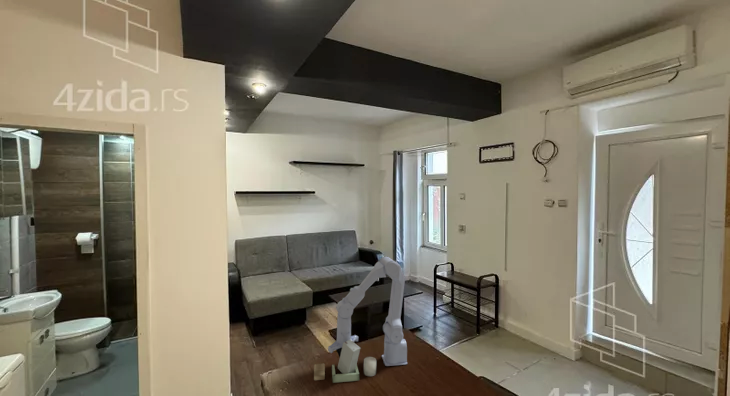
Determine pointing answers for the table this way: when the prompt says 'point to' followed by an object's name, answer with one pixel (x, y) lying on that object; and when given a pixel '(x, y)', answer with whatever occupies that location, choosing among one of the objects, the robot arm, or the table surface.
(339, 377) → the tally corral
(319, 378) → the beech block
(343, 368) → the skincare box
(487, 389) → the table surface
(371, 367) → the cream rounded block
